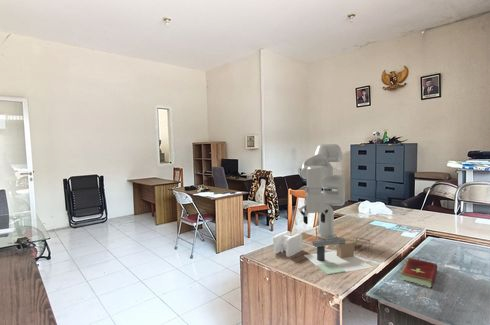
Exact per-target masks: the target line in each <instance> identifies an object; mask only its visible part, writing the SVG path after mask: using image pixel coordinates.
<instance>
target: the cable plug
mask: <svg viewBox="0 0 490 325" xmlns="http://www.w3.org/2000/svg"><path fill="white" fill-rule="evenodd" d="M325 247H326V246H319V247H316V254H317V260H318V261H324V260H325V252H326V251H325V250H326V249H325Z"/></svg>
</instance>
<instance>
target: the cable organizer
mask: <svg viewBox="0 0 490 325" xmlns="http://www.w3.org/2000/svg"><path fill="white" fill-rule="evenodd" d="M272 241H273V244H272V245H273V254H275V255H276V254H280V253H281V254H283V252H285V256H286V257H288V258H290V257H292V256H294V255H296V254H298V253H300V252H301V251H303V250H304V249H303V234H302V233H297V234H294V235H292V231H289V230H285V231H283V232H280V233H277V234H276V235H274V236H273V240H272Z"/></svg>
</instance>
